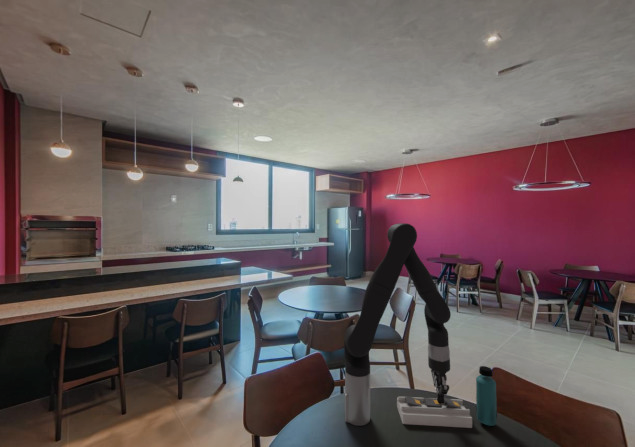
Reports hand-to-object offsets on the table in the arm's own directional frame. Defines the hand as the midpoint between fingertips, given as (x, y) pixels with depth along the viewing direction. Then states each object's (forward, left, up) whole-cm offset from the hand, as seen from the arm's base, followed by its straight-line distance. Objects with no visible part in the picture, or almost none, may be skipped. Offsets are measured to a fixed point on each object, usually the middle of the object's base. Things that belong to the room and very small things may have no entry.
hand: (440, 402), depth 106 cm
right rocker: (+4, 0, 0) cm, 4 cm away
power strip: (-3, 0, -5) cm, 6 cm away
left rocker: (-10, 0, 0) cm, 10 cm away
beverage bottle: (+15, -3, -6) cm, 16 cm away
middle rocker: (-3, 0, 0) cm, 3 cm away
